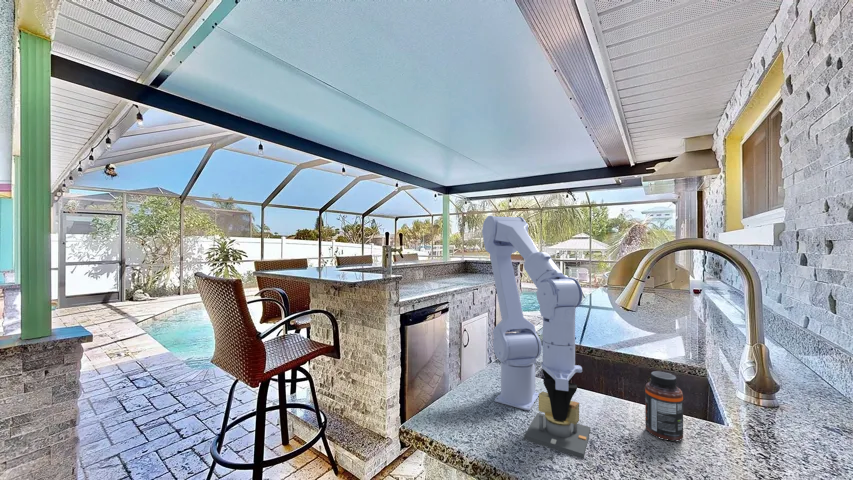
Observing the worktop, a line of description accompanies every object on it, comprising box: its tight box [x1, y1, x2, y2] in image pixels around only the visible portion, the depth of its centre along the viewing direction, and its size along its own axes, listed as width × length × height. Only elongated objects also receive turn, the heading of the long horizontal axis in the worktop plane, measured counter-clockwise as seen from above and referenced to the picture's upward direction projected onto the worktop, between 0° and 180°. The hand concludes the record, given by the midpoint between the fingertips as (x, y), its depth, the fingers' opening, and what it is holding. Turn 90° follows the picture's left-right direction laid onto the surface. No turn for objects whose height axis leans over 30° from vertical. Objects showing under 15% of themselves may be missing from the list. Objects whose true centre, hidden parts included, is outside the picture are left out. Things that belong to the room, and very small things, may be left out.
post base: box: [523, 412, 591, 460], centre depth 62 cm, size 10×10×3 cm
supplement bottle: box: [644, 370, 684, 441], centre depth 64 cm, size 6×6×11 cm
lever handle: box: [538, 390, 580, 426], centre depth 63 cm, size 7×5×4 cm
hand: (558, 413), depth 62 cm, fingers closed on lever handle, 4 cm apart
